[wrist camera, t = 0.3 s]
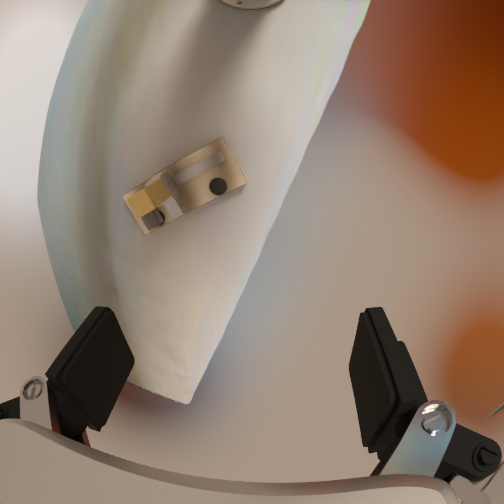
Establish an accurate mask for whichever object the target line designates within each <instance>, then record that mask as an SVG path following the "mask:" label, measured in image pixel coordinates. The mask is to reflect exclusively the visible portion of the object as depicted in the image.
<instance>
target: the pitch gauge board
mask: <svg viewBox="0 0 504 504" xmlns="http://www.w3.org/2000/svg"><path fill="white" fill-rule="evenodd" d="M167 171H168V173H169V175H170V177H171V179H172V180H173V182H174V184H175V186H176V188H177V189H178V191H179V194H178V195H177V198H178V199H179V201H180V203H181V204H182V205H183V208H184V210H185V213H187V212H189V211H191V210H193V209H195V208H197V207H199V206H201V205H203V204H205V203H207V202H209V201H211V200H213V199H215V198H217V197H219V196H221V195H223V194H225V193H227V192H230V191H232V190H234V189H236V188H238V187H240V186H242V185H244V184H246V182H247V181H246V180H245V178H244V176H243V174H242V172H241V170H240V168H239V166H238V164H237V162H236V160H235V158H234V156H233V154H232V153H231V151H230V149H229V147H228V145H227V143H226V141H225V139H224V137H222V138H220V139H218V140H216V141H214V142H212V143H210V144H208V145H206V146H205V147H203V148H201V149H199V150H197V151H196V152H194V153H192V154H190V155H188V156H187V157H185V158H183V159H181V160H180V161H178V162H176V163H175V164H173V165H171V166H169V167H168V168H166V169H164V170H163V171H161V172H160V173H158V174H156V175H155V176H153V177H152V178H150V179H148V180H147V181H145V182H144V183H142V184H141V185H139V186H138V187H136V188H134V189H133V190H131V191H130V192H128V193H127V194H126V195H124V196H123V198H124V200H125V202H126V203H127V205H128V207H129V209H130V210H131V212H132V214H133V215H134V217H135V219H136V220H137V222H138V224H139V225H140V227H141V229H142V230H143V232H144V233H145V235H146V234H148V233H149V232H151V231H153V230H155V229H157V228H159V227H160V226H162V225H164V224H166V223H168V222H170V221H172V220H173V219H172V217H171V216H170V214H169V212H168V210H167V209H166V207H165V205H164V204H163V205H161V206H159V207H157V208H156V209H154V210H152V211H151V212H149V213H147V214H145V215H144V216H142V217H140V218H139V219H138V218H137V216H136V214H135V212H134V211H133V209H132V207H131V206H130V204H129V202H128V200H127V199H128V198H130V197H131V196H133V195H134V194H136V193H137V192H139V191H140V190H142V189H144V188H145V184H146V183H148V182H149V181H151V180H153V179H154V178H156V177H157V176H159V175H161V174H163V173H165V172H167ZM185 213H184V214H185ZM175 219H176V218H175Z"/></svg>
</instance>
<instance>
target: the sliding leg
mask: <svg viewBox="0 0 504 504" xmlns="http://www.w3.org/2000/svg"><path fill="white" fill-rule="evenodd" d="M178 194H179V191H178V189H177V188H176V186H175V184H174V182H173V180H172V179H171V177H170V175H169V173H168V171H167V172H165V173H163V174H161V175H159V176H157V177H156V178H154V179H153V180H151V181H149V182H148V183H146V184H145V188H144V189H142V190H140V191H139V192H137V193H136V194H134V195H133V196H131V197H130V198H128V199H127V200H128V202H129V204H130V206H131V207H132V209H133V211H134V212H135V214H136V216H137V218H138V219H139V218H140V217H142V216H144V215H145V214H147V213H149V212H151V211H152V210H154V209H156V208H157V207H159V206H161V205H163V204H164V205H165V207H166V209H167V210H168V212H169V214H170V216H171V217H172V219H173V220H174V219H175V218H177V217H179V216H181V215H183V214H184V213H185V210H184V208H183V205H182V204H181V203H180V201H179V199H178V198H177V195H178Z"/></svg>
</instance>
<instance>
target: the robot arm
mask: <svg viewBox="0 0 504 504" xmlns="http://www.w3.org/2000/svg"><path fill="white" fill-rule="evenodd" d="M221 1H222V2H224V3H225V4H227V5H229V6H232V7H236V8H241V9H260V8H265V7H269V6H271V5H274V4H276V3H278V2H279V1H281V0H221ZM240 3H241V4H240ZM239 4H240V5H239ZM133 366H134V356H133V354H132V352H131V350H130V348H129V346H128V344H127V341H126V339H125V337H124V335H123V332H122V330H121V328H120V325H119V323H118V321H117V318H116V316H115V314H114V312H113V311H112V310H111V309H110V308H108V307H99V306H97V307H95V308H94V309H93V310H92V312H91V313H90V314H89V315H88V317H87V318H86V319H85V320H84V322H83V323H82V324H81V326H80V327H79V328H78V329H77V331H76V332H75V333H74V335H73V336H72V337H71V339H70V340H69V341H68V343H67V344H66V345H65V347H64V348H63V349H62V351H61V352H60V354H59V355H58V356H57V358H56V359H55V360H54V362H53V363H52V365H51V366H50V368H49V369H48V371H47V372H46V373H45V375H46V376H47V378H48V381H47V382H46V380H45V379H44V378H43V377H40V376H34V377H32V378H29V379H28V380H27V381H26V382H25V383H24V384H23V385H22V388H21V390H20V396H19V397H17V398H14V399H12V400H9V401H7V402H4V403H1V404H0V504H459V501H458V499H457V496H458V497H459V498H460V499H461V500H462V502H461V504H504V461H503V460H501V458H502V454H501V449H500V447H499V445H498V444H497V443H496V442H495V441H494V440H492V439H490V438H487V437H485V436H483V435H480V434H478V433H476V432H474V431H472V430H469V429H467V428H465V427H463V426H461V425H459V424H457V423H456V414H455V412H454V410H453V409H452V408H451V407H450V406H449V405H448V404H446V403H445V402H442V401H438V400H432V401H428V400H427V397H426V394H425V392H424V389H423V386H422V384H421V381H420V379H419V376H418V374H417V371H416V369H415V367H414V364H413V362H412V359H411V357H410V355H409V352H408V350H407V348H406V346H405V344H404V342H402V341H397V339H396V337H395V334H394V332H393V330H392V328H391V325H390V323H389V321H388V319H387V317H386V314H385V312H384V310H383V308H382V307H374V308H366V310H365V312H364V313H360V316H359V322H358V327H357V331H356V336H355V341H354V346H353V350H352V354H351V358H350V362H349V373H350V378H351V383H352V388H353V393H354V397H355V403H356V408H357V413H358V420H359V425H360V431H361V438H362V443H363V446H364V447H368V452H369V453H374V452H377V455H378V459H379V460H380V462H379V463H378V465H377V466H376V467H375V469H374V470H373V472H372V473H371V474H370V476H369V477H361V478H351V479H342V480H332V481H320V482H300V483H299V482H298V483H261V482H242V481H230V480H220V479H213V478H205V477H198V476H192V475H187V474H180V473H176V472H171V471H167V470H162V469H157V468H154V467H150V466H146V465H142V464H139V463H135V462H132V461H128V460H125V459H122V458H119V457H116V456H113V455H110V454H107V453H104V452H102V451H99V450H96V449H94V448H91V446H90V443H89V440H88V436H87V433H86V427H87V426H88V427H89V428H90V429H93V430H96V431H99V432H100V430H101V428H102V426H104V425H105V424H106V422H107V420H108V418H109V415H110V413H111V411H112V409H113V407H114V405H115V403H116V401H117V399H118V396H119V394H120V392H121V390H122V388H123V386H124V383H125V382H126V380H127V378H128V376H129V374H130V372H131V370H132V368H133ZM456 495H457V496H456Z"/></svg>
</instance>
